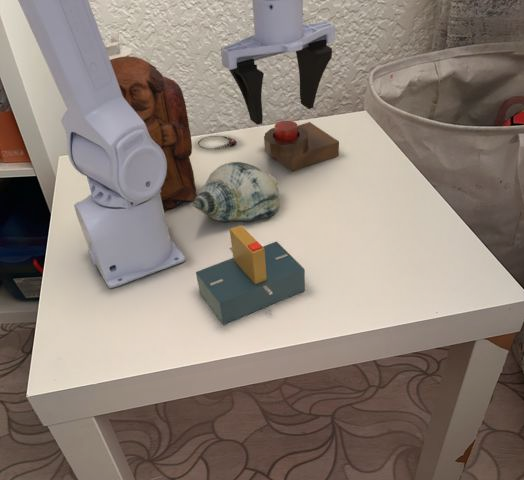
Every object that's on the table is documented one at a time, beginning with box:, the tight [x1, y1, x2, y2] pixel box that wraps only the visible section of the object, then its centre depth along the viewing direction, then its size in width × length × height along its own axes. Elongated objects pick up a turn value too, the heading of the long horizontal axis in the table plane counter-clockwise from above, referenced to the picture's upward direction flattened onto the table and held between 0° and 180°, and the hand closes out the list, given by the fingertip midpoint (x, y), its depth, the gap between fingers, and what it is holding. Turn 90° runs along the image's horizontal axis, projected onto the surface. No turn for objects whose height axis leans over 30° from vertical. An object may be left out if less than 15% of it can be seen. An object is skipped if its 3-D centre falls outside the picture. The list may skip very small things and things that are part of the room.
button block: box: [263, 121, 340, 172], centre depth 80 cm, size 10×8×4 cm
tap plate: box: [195, 241, 306, 325], centre depth 59 cm, size 10×9×3 cm
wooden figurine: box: [110, 56, 197, 211], centre depth 68 cm, size 12×6×18 cm, turn 108°
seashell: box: [192, 161, 280, 223], centre depth 69 cm, size 6×8×12 cm
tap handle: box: [229, 225, 267, 285], centre depth 56 cm, size 5×1×4 cm, turn 29°
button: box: [273, 120, 298, 141], centre depth 77 cm, size 3×3×2 cm
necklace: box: [197, 135, 238, 150], centre depth 85 cm, size 4×6×1 cm, turn 74°
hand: (282, 113), depth 71 cm, fingers open, 7 cm apart
